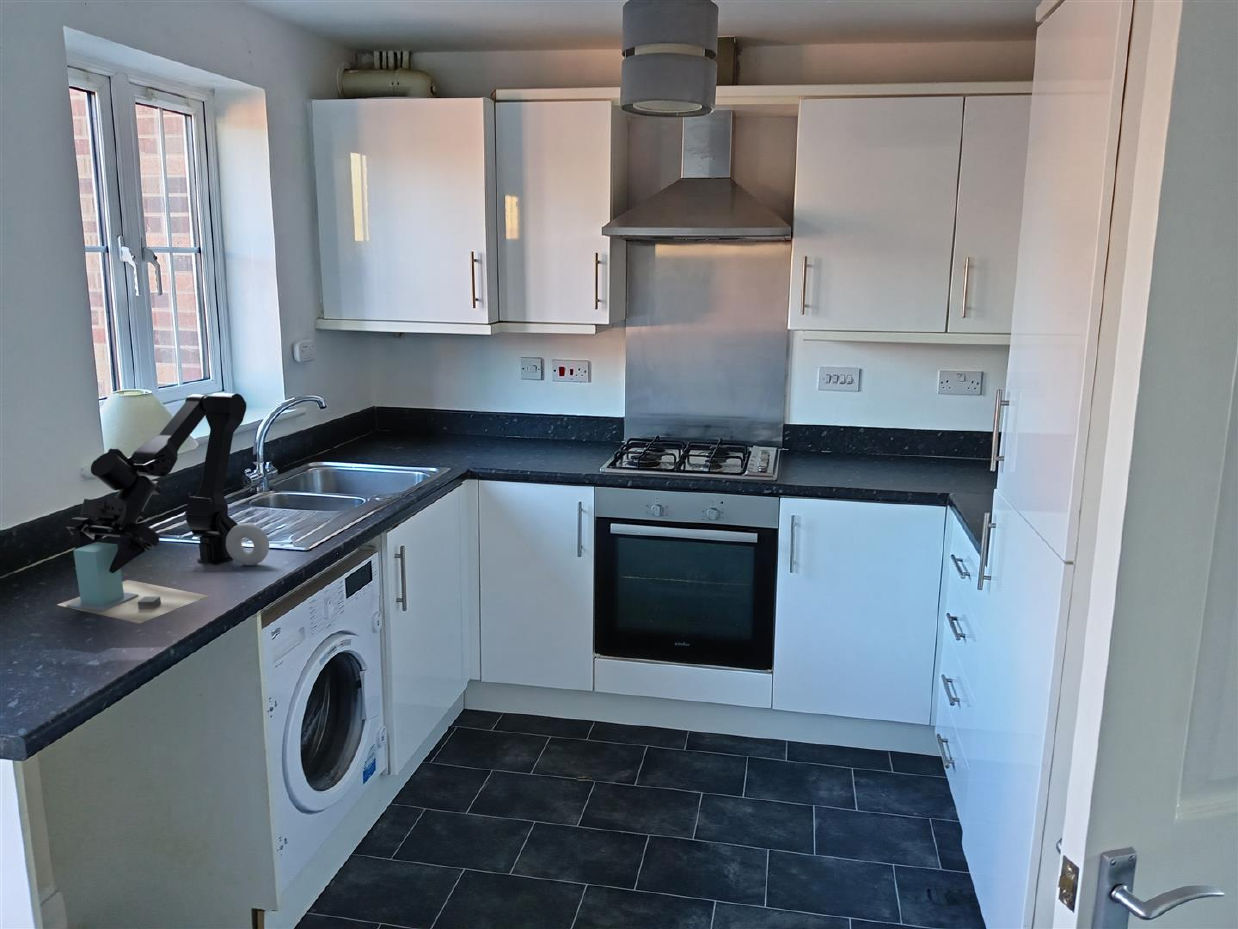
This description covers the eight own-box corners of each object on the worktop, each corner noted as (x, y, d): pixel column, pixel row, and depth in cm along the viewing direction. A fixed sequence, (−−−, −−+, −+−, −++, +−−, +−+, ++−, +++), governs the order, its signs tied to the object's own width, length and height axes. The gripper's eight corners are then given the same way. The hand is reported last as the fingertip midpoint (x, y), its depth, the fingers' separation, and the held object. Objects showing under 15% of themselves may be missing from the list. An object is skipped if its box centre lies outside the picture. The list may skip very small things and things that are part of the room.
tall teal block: (103, 593, 192) (96, 542, 189) (124, 596, 190) (117, 544, 188) (80, 603, 187) (73, 550, 184) (102, 605, 185) (94, 552, 182)
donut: (225, 567, 213) (220, 524, 211) (232, 562, 217) (228, 520, 214) (267, 568, 212) (263, 525, 210) (274, 563, 216) (270, 521, 213)
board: (128, 586, 201) (127, 573, 201) (209, 602, 191) (208, 588, 191) (57, 611, 187) (55, 597, 187) (140, 631, 177) (138, 616, 176)
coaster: (104, 591, 194) (103, 590, 194) (138, 596, 191) (138, 594, 191) (66, 607, 186) (66, 605, 185) (102, 612, 183) (101, 610, 183)
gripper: (67, 478, 190) (26, 547, 182) (141, 484, 184) (102, 555, 176) (104, 506, 199) (67, 572, 191) (175, 513, 193) (140, 581, 185)
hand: (92, 570), depth 185 cm, fingers open, 9 cm apart
